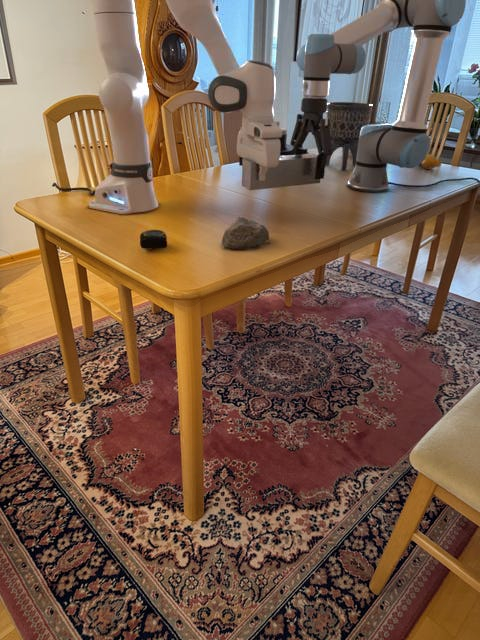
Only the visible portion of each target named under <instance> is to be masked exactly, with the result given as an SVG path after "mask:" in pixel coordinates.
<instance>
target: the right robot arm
mask: <svg viewBox="0 0 480 640" xmlns="http://www.w3.org/2000/svg"><path fill="white" fill-rule="evenodd" d="M466 4H467V0H380V1H378V3H377V5H376V7H374V8H373V9H371V10H370V11H368V12H367V13H364V14H362V15H361V16H359V17H358V18H355V19H354V20H352V21H351V22H349V23H347V24H346V25H343V27H341V28H339V29H337V30H335V31H334V32H332V33H311V34H308V36H307V37H306V42H305V44H303V45H301V46H300V48H299V49H298V50H297V53H296V64H297V67H298V68H299V70H300V71H303V77H302V78H303V79H302V91H301V95H302V96H303V97H302V98H301V102H300V111H301V112H302V113H297V115H296V121H295V126H294V129H293V132H292V135H291V139H290V142H289V144H290V145H292V146H293V148H294V155H300V154H303V149H300V148H304V146H303V145H304V143H305V141H306V139H307V137H308V135H309V134H310V133H311V135H312V136H313V137H314V138H313V139H314V141H315V146H316V148H317V152H318V154H317V155H318V156H317V162H316V172H315V179H320V180H323V179H325V171H326V170H325V169H326V167H327V165H326V158H327V156H328V155H332V156H333V154H332V145H331V137H330V128H329V127H330V119H326V118H324V114H326V111H327V103H329V102H328V101H329V100H328V98H327V97H329V95H330V82H331V75H332V74H334V75H351V74H352V75H353V74H358V73H359V72H361V71H362V69H363V68H364V67H365V64H366V58H367V57H366V51H365V48H364V47H363V45H365V44H366V43H368V42H370V41H372V40H374V39H375V38H377V37H378V36H380V35H382V34H384V33H387V34H389V33H392V32H394V31H396V30H397V29H402V28H403V29H404V28H411V33H412V35H413V36H414V43H413V47H412V51H411V57H410V60H409V66H408V70H407V75H406V79H405V83H404V84H405V85H404V88H403V94H402V99H401V103H400V107H399V113H398V117H397V120H395V122H393V123H379V124H369V125H365V126H363V127H362V128H361V131H360V136H359V142H358V150H357V158H356V165H355V166H354V167H353V171H351V172H350V173H349V179H348V180H347V181H348V182H347V187H348V188H349V189H351V190H354V191H358V192H363V193H364V192H365V193H382V192H386V191H388V189H389V185H392V186H397V187H404V188H405V187H406V188H427V187H428V188H429V187H432V186H437V185H438V184H441V183H445V182H458V181H466V180H468V181H469V180H472V181H476V182H477V183H478V184H480V180H479V179H478V178H476V177H463V178H462V177H461V178H448V179H447V178H446V179H441V180H438V181H436V182H433V183H429V184H421V185H419V184H418V185H415V184H404V183H403V184H402V183H397V182H390V181H389V178H388V173H387V172H388V171H387V166H388V165H392V166H396V167H399V168H402V169H403V168H405V169H414V168H416V167H419V166H418V165H419V164H420V163H421V162H422V161H423V160H424V159H425V157H426V156H427V155H429V152H430V148H431V138H430V136H429V135H428V134H427V130H428V126H427V125H426V124H425V119H426V115H427V110H428V106H429V102H430V98H431V93H432V89H433V86H434V82H435V77H436V72H437V68H438V64H439V60H440V56H441V51H442V48H443V44H444V40H445V39H446V38H447V37H448V36H449V35H451V32H452V28H453V26H456V25H458V23H459V22H460V21H461V19H462V18H463V16H464V14H465V9H466V6H467V5H466Z"/></svg>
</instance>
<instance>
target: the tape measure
mask: <svg viewBox="0 0 480 640" xmlns="http://www.w3.org/2000/svg"><path fill="white" fill-rule="evenodd" d="M167 236H168V235H167V234H166V232H165V231H164V230H161V229H147V230H144V231H143V232H141V233H140V235H139V240H140V241H139V245H140V246H139V247H141V248H142V249H146V250H157V249H167V248H168V240H167V239H168V237H167Z"/></svg>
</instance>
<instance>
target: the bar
mask: <svg viewBox="0 0 480 640" xmlns="http://www.w3.org/2000/svg"><path fill="white" fill-rule="evenodd" d="M317 156H318V154H315V153H310V154H300V155H287V156H280V160H279V164H278V166H277V167H273V168H268V170H267V172H266V174H265V180H264V181H260V180H258V174H259V171H260V168H259V164H257V163H256V162H254V161H252V160H249V159H247V158H246V159H242V166H241V168H242V169H241V186H242V187H243V188H245V189H247V190H249V191H257V190H267V189H274V188H275V189H276V188H287V187H294V186H296V187H297V186H305V185H314V184H315V185H316V184H320V183H321V179H315V172H316V162H317Z"/></svg>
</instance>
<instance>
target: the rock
mask: <svg viewBox="0 0 480 640" xmlns="http://www.w3.org/2000/svg"><path fill="white" fill-rule="evenodd" d="M269 241H270V233H269V230H268V229H267V228H266V226H265V225H263V224H261V223H259V222H256V221H255V220H252V219H247V218H245V217H241V216H238V217H237V218H236V219H235V221H234V222H233V223H232V224H231V225H229V226H228V227H227V228H226V229H225V231H224V233H223V236H222V239H221V244H222V247H224V248H229V249H231V250H245V249H254V248H257V247H259V246H260V245H264V244H266V242H269Z"/></svg>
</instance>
